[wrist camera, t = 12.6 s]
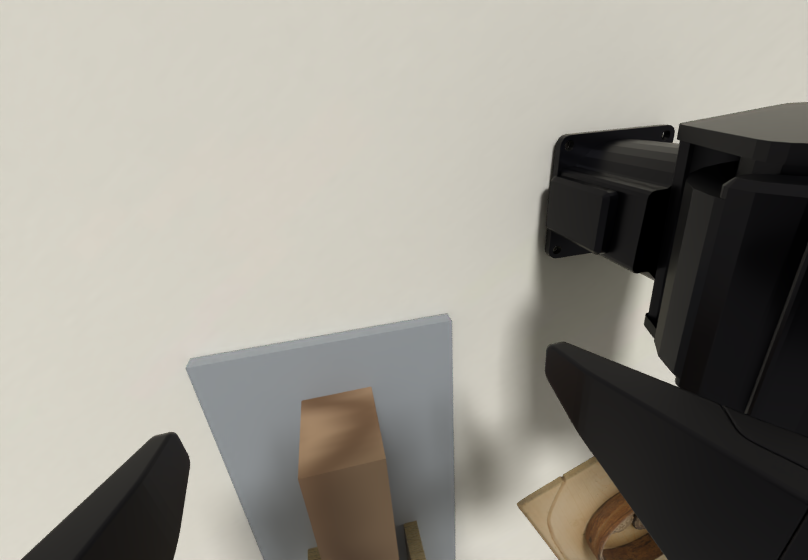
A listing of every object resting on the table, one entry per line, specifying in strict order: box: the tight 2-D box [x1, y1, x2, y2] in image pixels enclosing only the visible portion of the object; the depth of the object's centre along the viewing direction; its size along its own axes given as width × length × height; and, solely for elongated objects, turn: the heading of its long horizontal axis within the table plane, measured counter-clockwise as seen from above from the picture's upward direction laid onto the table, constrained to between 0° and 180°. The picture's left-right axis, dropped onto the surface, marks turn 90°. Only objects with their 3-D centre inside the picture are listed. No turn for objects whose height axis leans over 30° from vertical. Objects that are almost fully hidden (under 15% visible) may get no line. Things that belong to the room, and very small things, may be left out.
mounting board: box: [186, 314, 455, 560], centre depth 25 cm, size 14×24×1 cm, turn 4°
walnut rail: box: [298, 387, 399, 560], centre depth 23 cm, size 4×18×5 cm, turn 4°
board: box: [517, 456, 667, 560], centre depth 35 cm, size 25×15×3 cm, turn 30°
